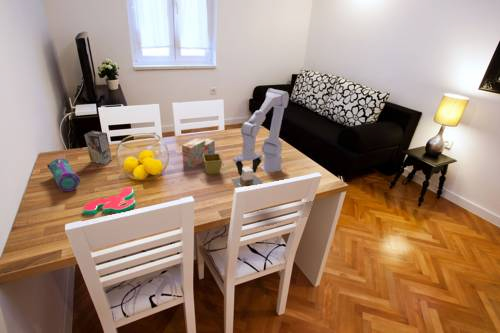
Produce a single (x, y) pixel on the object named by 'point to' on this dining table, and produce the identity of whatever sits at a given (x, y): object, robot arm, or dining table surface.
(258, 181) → the blueprint mat
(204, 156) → the flower pot
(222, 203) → the dining table surface
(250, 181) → the base block
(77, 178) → the pencil case
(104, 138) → the coffee box
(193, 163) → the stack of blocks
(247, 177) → the top block
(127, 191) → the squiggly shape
